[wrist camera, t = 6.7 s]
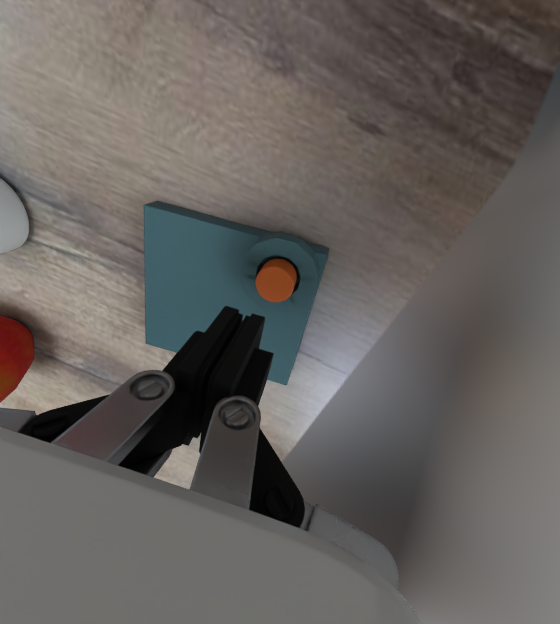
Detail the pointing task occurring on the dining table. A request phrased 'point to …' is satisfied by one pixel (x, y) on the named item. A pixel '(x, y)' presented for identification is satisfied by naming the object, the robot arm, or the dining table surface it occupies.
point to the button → (276, 280)
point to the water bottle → (12, 219)
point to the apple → (14, 354)
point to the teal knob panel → (223, 280)
